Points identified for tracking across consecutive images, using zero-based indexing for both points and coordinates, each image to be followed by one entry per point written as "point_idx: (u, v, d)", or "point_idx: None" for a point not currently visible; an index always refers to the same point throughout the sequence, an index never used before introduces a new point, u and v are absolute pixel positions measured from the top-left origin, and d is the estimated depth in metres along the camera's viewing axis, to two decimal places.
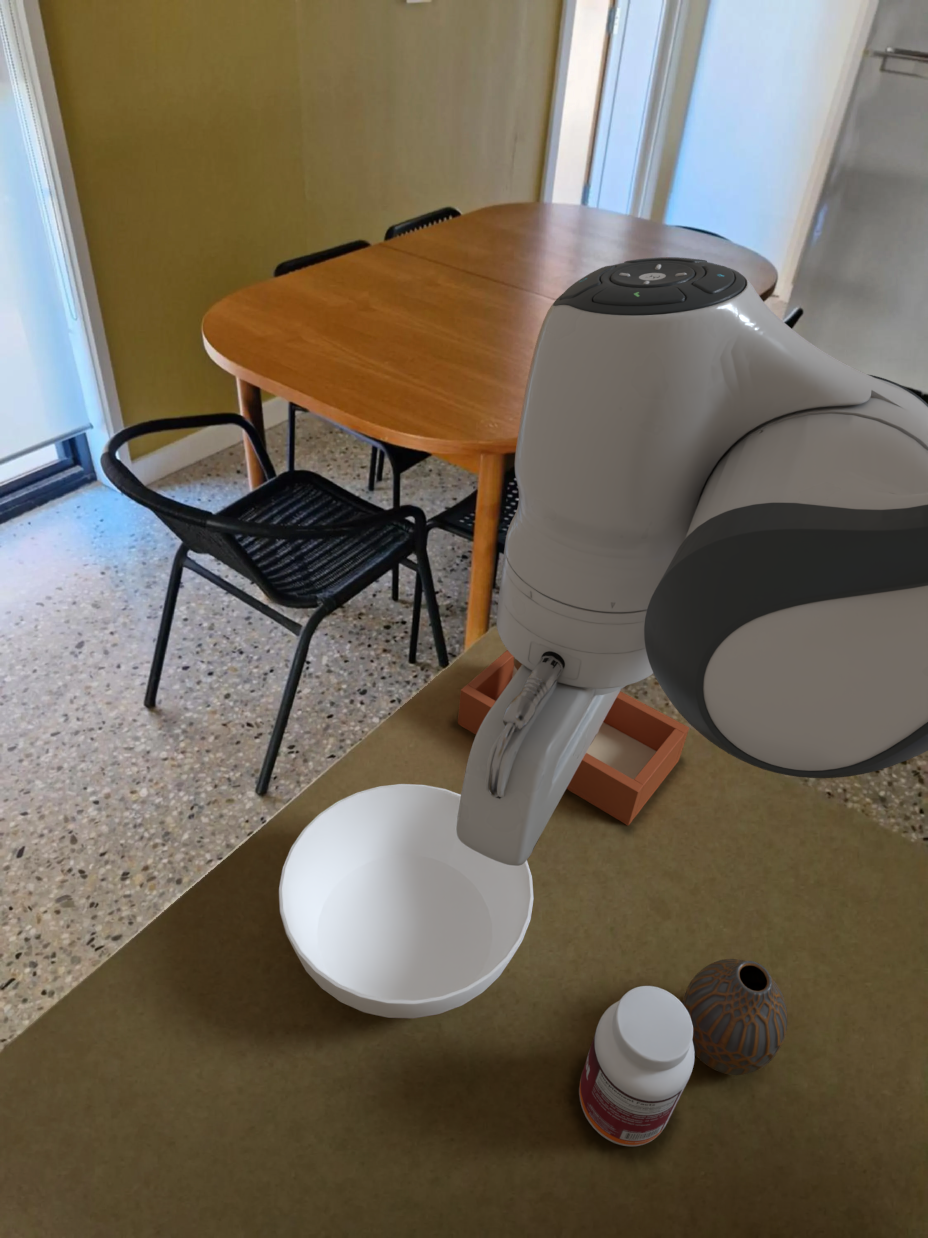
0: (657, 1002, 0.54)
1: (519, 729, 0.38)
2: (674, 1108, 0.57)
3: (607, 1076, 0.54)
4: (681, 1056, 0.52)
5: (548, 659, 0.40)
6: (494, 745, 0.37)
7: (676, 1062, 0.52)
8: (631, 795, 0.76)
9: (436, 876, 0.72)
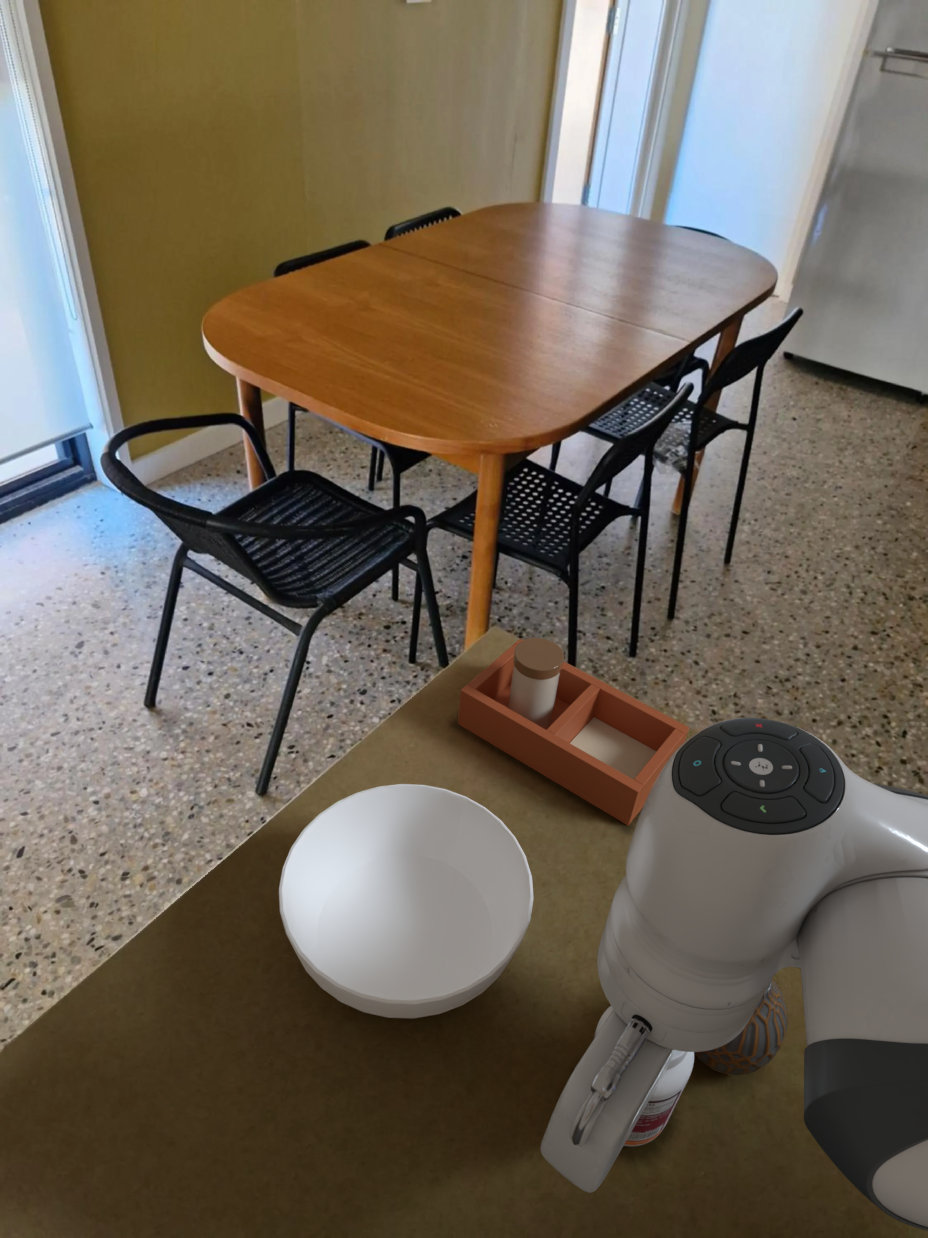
0: None
1: (604, 1100, 0.43)
2: (674, 1107, 0.57)
3: None
4: (681, 1056, 0.52)
5: (637, 1024, 0.46)
6: (580, 1112, 0.43)
7: (676, 1062, 0.52)
8: (631, 795, 0.76)
9: (436, 876, 0.72)
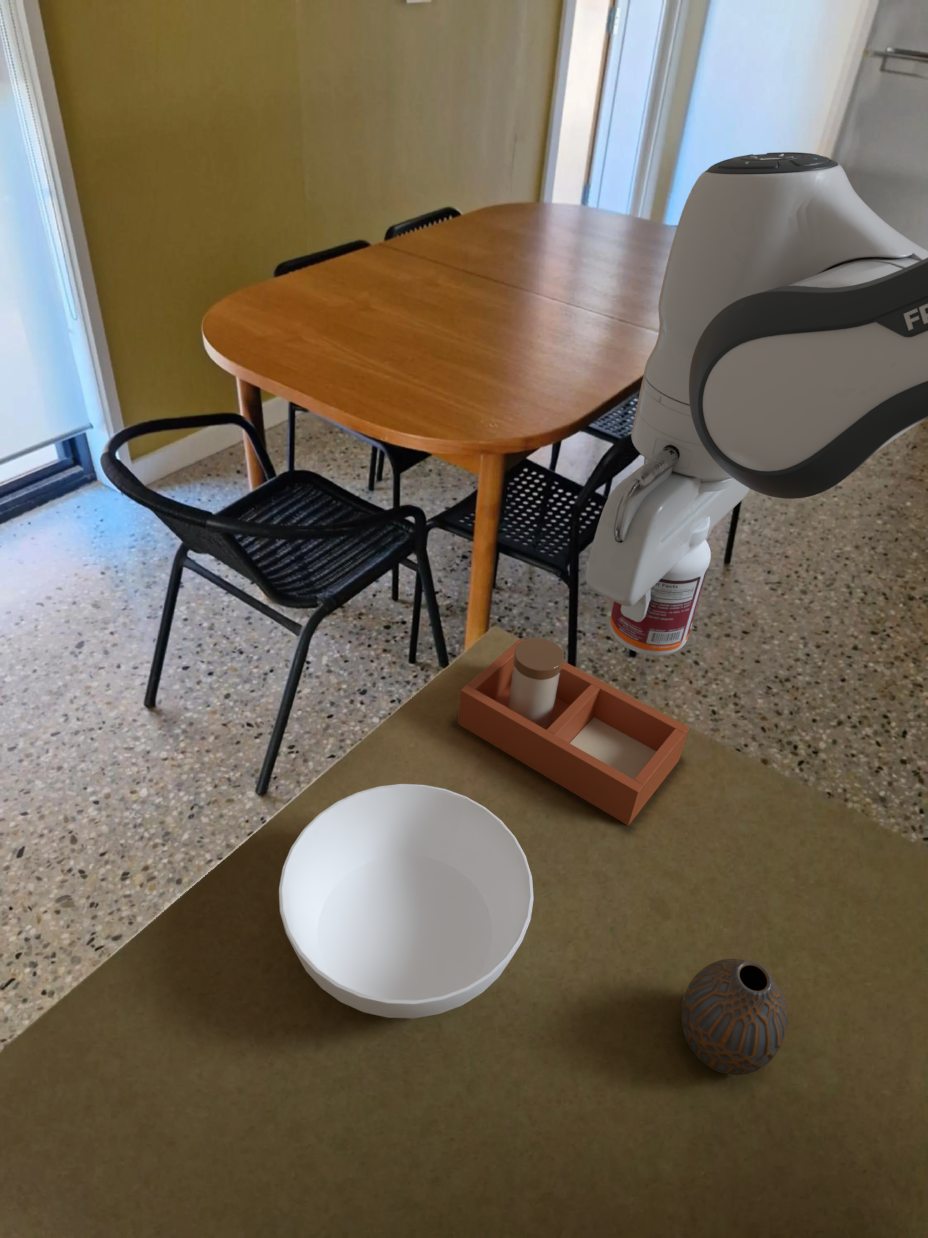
0: None
1: (641, 485, 0.53)
2: (693, 614, 0.66)
3: None
4: (701, 532, 0.61)
5: (667, 448, 0.55)
6: (622, 494, 0.53)
7: (696, 537, 0.61)
8: (631, 795, 0.76)
9: (436, 876, 0.72)
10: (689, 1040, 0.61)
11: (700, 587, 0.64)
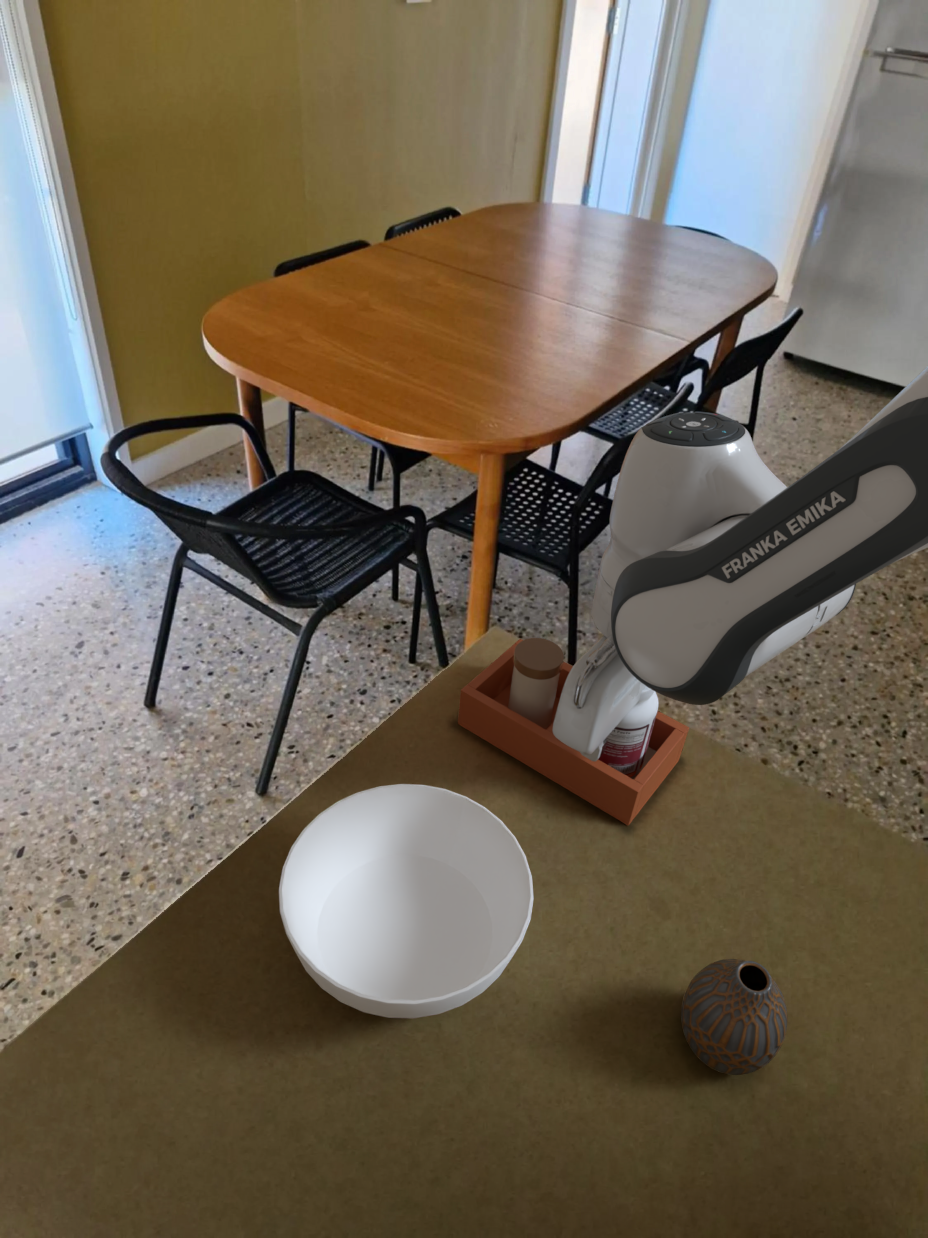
0: None
1: (595, 667, 0.66)
2: (645, 750, 0.79)
3: None
4: (648, 691, 0.75)
5: None
6: (579, 675, 0.66)
7: (644, 695, 0.75)
8: (631, 795, 0.76)
9: (436, 876, 0.72)
10: (689, 1040, 0.61)
11: (649, 731, 0.78)
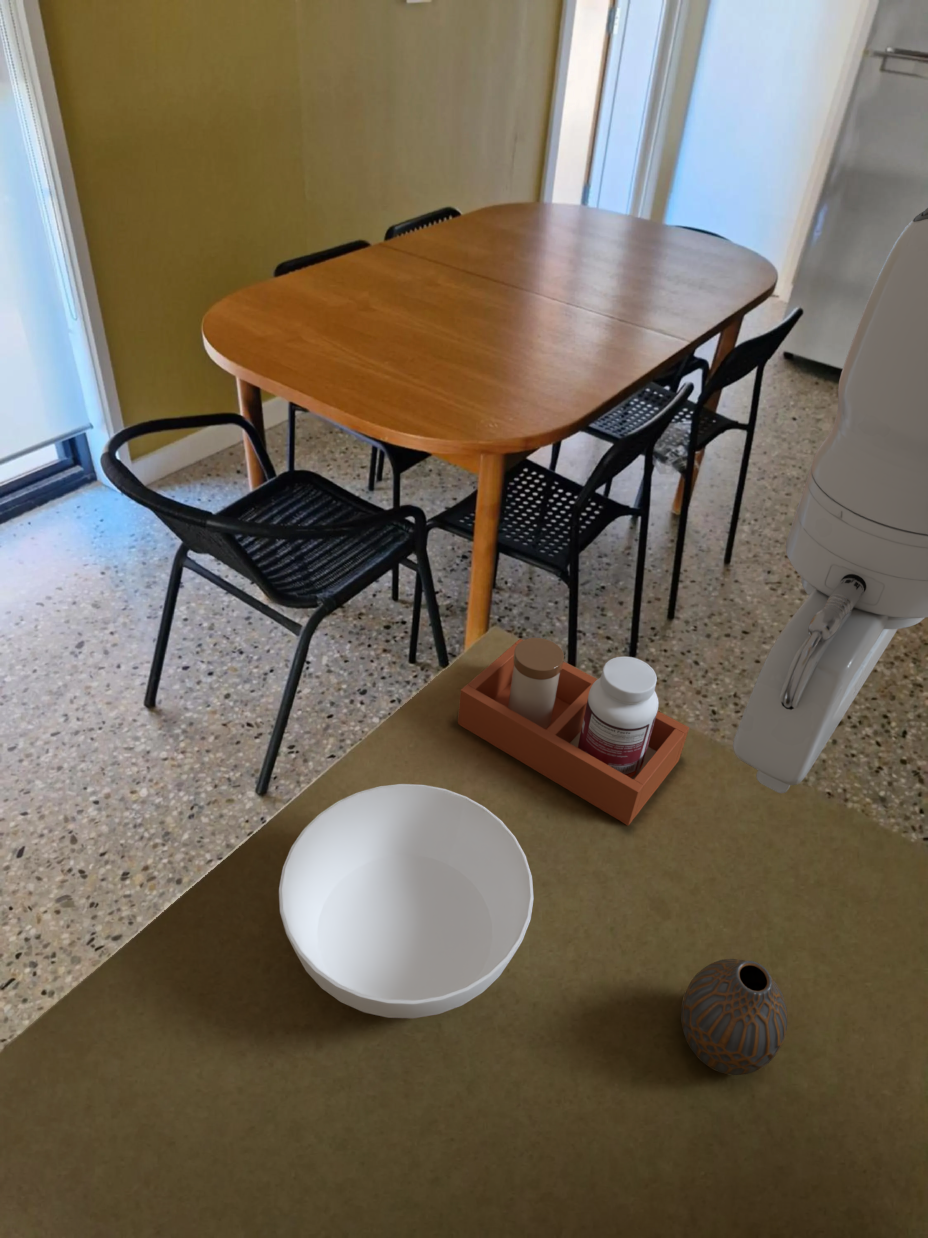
0: (631, 664, 0.77)
1: (825, 638, 0.39)
2: (645, 750, 0.79)
3: (597, 715, 0.77)
4: (648, 691, 0.75)
5: (850, 580, 0.41)
6: (799, 651, 0.38)
7: (644, 695, 0.75)
8: (631, 795, 0.76)
9: (436, 876, 0.72)
10: (689, 1040, 0.61)
11: (650, 731, 0.78)
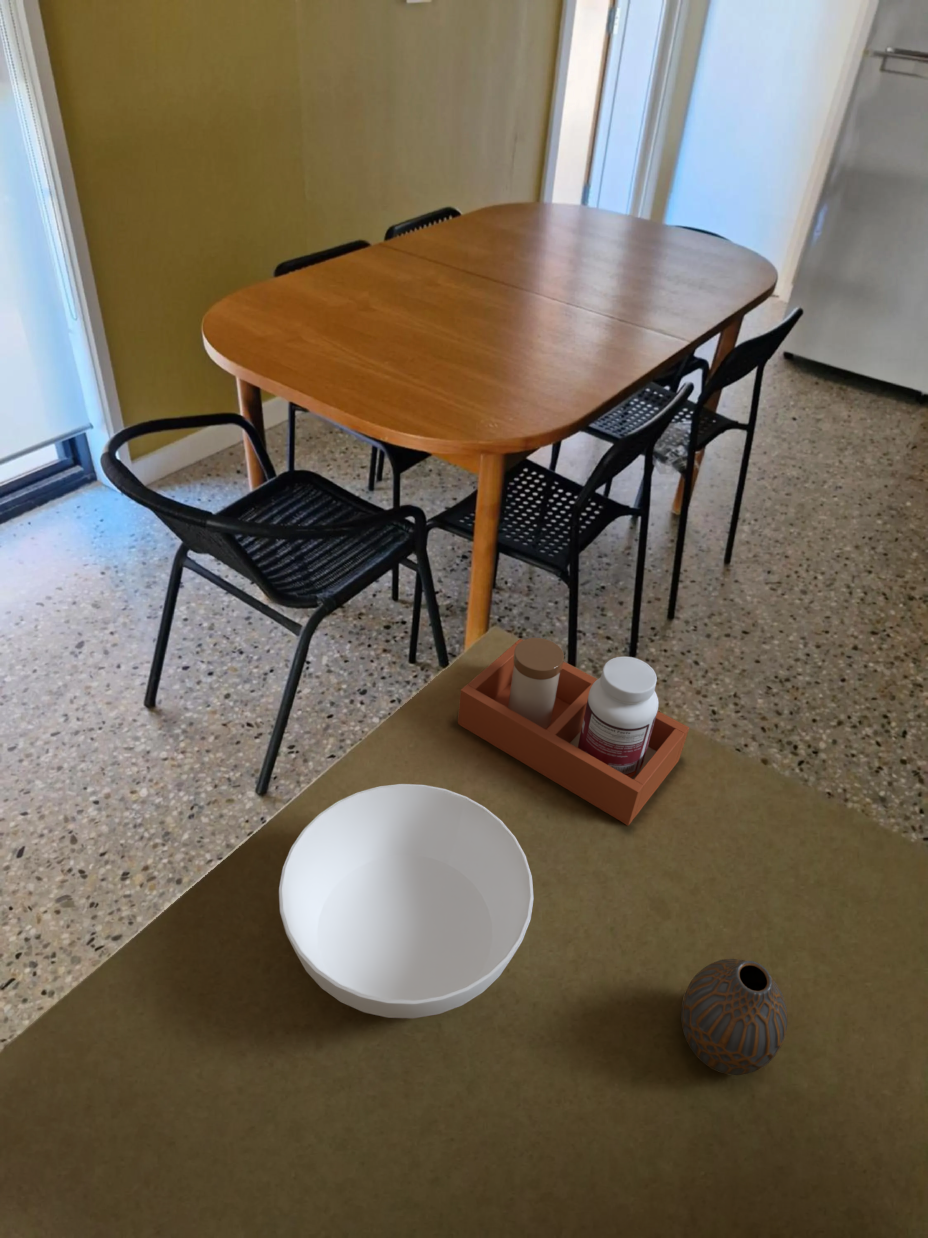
0: (631, 664, 0.77)
1: None
2: (645, 750, 0.79)
3: (597, 715, 0.77)
4: (648, 691, 0.75)
5: None
6: None
7: (644, 695, 0.75)
8: (631, 795, 0.76)
9: (436, 876, 0.72)
10: (689, 1040, 0.61)
11: (650, 731, 0.78)
